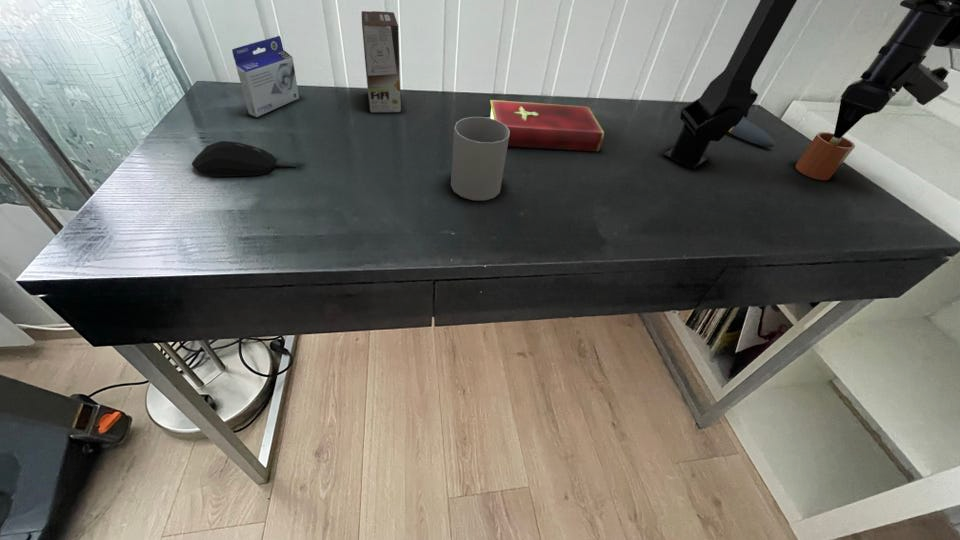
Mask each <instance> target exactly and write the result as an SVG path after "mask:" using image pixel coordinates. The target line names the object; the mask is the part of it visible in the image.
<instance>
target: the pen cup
mask: <svg viewBox="0 0 960 540" xmlns="http://www.w3.org/2000/svg"><path fill="white" fill-rule="evenodd" d="M833 136H834V133H833V132H826V131H820V132H818V133H817V134H816V135H815V136H814V137H813V139H812V141H811V142H810V144H809V145H808V146H807V148H806V149H805V150H804V151H803V153H802V155H801V156H800V158H799V159H798V160H797V162H796V163H795V166H794V167H795V169H796V170H797V171H798V172H799V173H800V174H802V175H804V176H806V177H808V178H811V179H814V180H817V181H828V180H830V179H831V178H832V177H833V175H834V174H835V173H836V172H837V170H838V169H839V168H840V167H841V165H843V163H844V162H845V161H846V159H847V158H848V157H849V155H850V154H851V153H852V151H853V150H854V149H855V148H856V145H855V143H853V142H852V141H851V140H850V139H848V138H846V137H844V136H842V137H841V138H842V140H841V142H840V143H839V144H838V145H837V146H836V145H833V144H831V143H829V142H830V140H831V139H832V137H833Z"/></svg>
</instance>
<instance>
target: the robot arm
mask: <svg viewBox="0 0 960 540" xmlns="http://www.w3.org/2000/svg"><path fill="white" fill-rule="evenodd" d="M797 1H798V0H759V2H758V4H757V6H756V8H755V10H754V11H753V14H752V16H751V18H750V20H749V22H748V24H747V26H746V27H745V30H744V32H743V34H742V35H741V37H740V39H739V41H738V43H737V45H736V47H735V49H734V51H733V53H732V55H731V57H730V58H729V61H728V63H727V65H726V66H725V68H724V69H723V71H722V72H720V74H718V75H717V76H716V77H715V78H714V79H712V80H711V81H710V83H709V84H708V85H707V87H706V89H705V90H704V91H703V93H702V94H701V96H700V97H699V98H697V99H696V100H694V101H692V102H690V103H688V104H687V105H685V106H684V107H682V108H681V109H680V115H679V119H680V121H682V122H683V126H682V128H681V130H680V133H679V135H678V136H677V138H676V141H675V143H674V145H673V148H670V149H669V150H668V151H665V152H664V153H663V157H665V158H666V159H669V160H671V161H672V162H675V163H677V164H679V165H681V166H683V167H684V168H686V169H689V170H695V169H697V168H698V167H699V166H701V165H703V164H704V163H705V162H706V161H707V160H708V158H707V157H705V156H704V154H705V153H706V150H707V149H708V147H709V145H710V143H711V142H719V141H721V140H722V139H723V138H724V137H725V135H726V134H727V133H729V132H728V131H729V130H730V129H731V128H732V127H733V126H736V125H737V124H738V123H739V122H740V121H741V119H745V118H746V119H747V117H748V114H749V111H750V110H751V107H752V106H753V104H754V103H755V102H756V100H757V99H758V96H759V93H757V92H756V91H755V90H754V89H753V88H752V85H753V80H754V78H755V76H756V74H757V73H758V71H759V69H760V67H761V65H762V64H763V62H764V60H765V58H766V57H767V55H768V53H769V51H770V49H771V47H772V46H773V44H774V42H775V40H776V39H777V37H778V35H779V34H780V31H781V30H782V28H783V26H784V25H785V23H786V21H787V20H788V17H789V15H790V14H791V12H792V10H793V8H794V7H795V5H796V3H797ZM899 6H900V7H903V8H906V9H909V10H908V12H907V13H906V15H905V16H904V17H903V19H902V20H901V22H900V23H899V25H898V26H897V27H896V28H895V30H894V31H893V32H892V34H891V35H890V37H889V38H888V39H887V41H886V43H885V44H884V45H882V46H881V48H880V49H879V50H878V51H877V54H876V57H875V58H874V59H873V61H872V62H871V63H870V64H869V66H868V68H867V69H866V70H864V71H863V73H862V74H861V75H860V77H859V78H860V79H858V80H856V81H853V82H851V83H850V84H849V85H848V86H847V87H845V90H844V91H843V92H842V94H841V95H840V100H839V108H838V114H837V119H836V123H835V128H834V132H833V134H834V137H835V138H838V139H840V138H841V137H844V136H845V135H846V134H847V133H848V132H849V131H850V130H851V129H852V128H853V127H854V126H855V125H856V124H857V123H858V122H859V121H861V119H863V118H864V117H865V116H868V115H872V114H877V113H879V112H881V111H882V110H883V109H884V108H885V107H886V106H887V105H888V104H889V102H890V101H891V99H892V98H893V97H895V96H896V95H897V93H899V92H900V91H901V90H902V89H904V90H905V91H906V92H907V93H908V94H910V95H911V96H912V97H913V98H915V100H916V102H917V103H918V104H919V105H921V106H926V105H927V104H928V103H930V102H931V101H933V100H934V99H936V98H937V97H939V96H940V95H942V94H943V93H945V92H946V91H947V90H948V89H949V87H950V86H949V84H948V82H947V81H945V79H947V76H948V75H949V73H950V71H949V70H947V68H945V67H944V66H940V67H937V68H934V69H931V68H930V67H927V66H926V65H924V64H923V62H924V60H926V58H927V55H926V54H927V53H928V52H929V50H930V49H931V48H932V46H933V47H937V48H946V49H953V50H960V0H902V1H900V3H899ZM705 120H706V121H705Z"/></svg>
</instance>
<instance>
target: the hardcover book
mask: <svg viewBox="0 0 960 540" xmlns="http://www.w3.org/2000/svg"><path fill="white" fill-rule="evenodd" d="M489 103H490V107H491V108H490V116H487V118H490V119H494V120H497V121H499V122H501V123H503V124H505V125H506V126H507V128H508V129H509V130H510V134H509V141H508V147H513V148H530V149H531V148H534V149H549V150H550V149H551V150H552V149H553V150H567V151H585V152H599V151H600V149H601V147H602V144H603V141H604V137H605V131H604V129H603V128H602V127H601V125H600V123H599V122H598V120H597V118H596V117H595V114H594V113H593V112H592V109H591V108H590V106H585V105H584V106H583V105H570V104H569V105H568V104H556V103H555V104H554V103H539V102H529V101H527V102H526V101H512V100H498V99H497V100H496V99H490V101H489Z"/></svg>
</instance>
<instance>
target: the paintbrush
mask: <svg viewBox="0 0 960 540" xmlns="http://www.w3.org/2000/svg"><path fill="white" fill-rule="evenodd" d="M705 121H706V120H705ZM727 133H729V134H731V135H732V136H735V137H737V138H738V139H740V140H743V141H745V142H748V143H751V144H755V145H756V146H761V147H766V148H771V147H772V148H773V147H774V146H775V145H776V142H775V141H774V139H773V138H772V137H771V135H769V134H768V133H767V132H766V131H764V130H763V129H762V128H760V127H758V126H757V125H756V124H753V123H752V122H751V121H749V120H746V119H745V118H742V119H741V121H740V122H739V123H738V124H737V125H736V126H733V127H732V128H731V129H730V130H729V131H728V132H727Z"/></svg>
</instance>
